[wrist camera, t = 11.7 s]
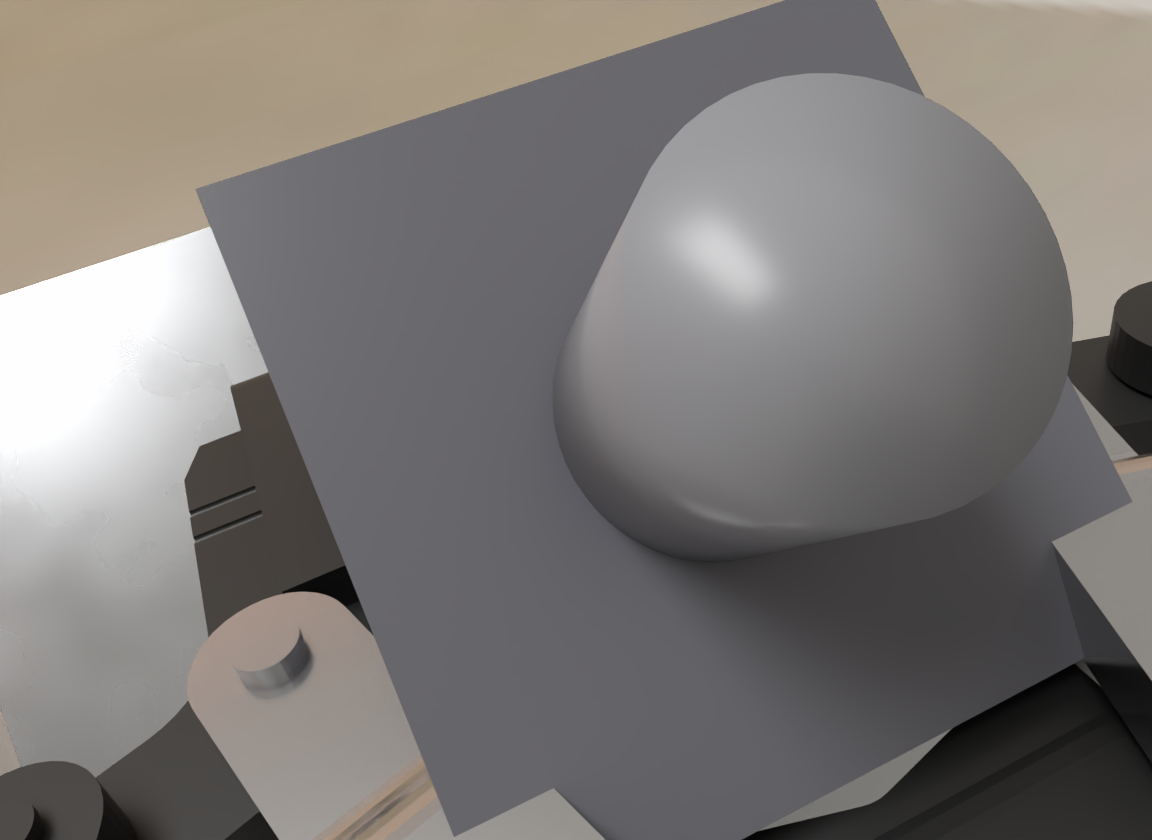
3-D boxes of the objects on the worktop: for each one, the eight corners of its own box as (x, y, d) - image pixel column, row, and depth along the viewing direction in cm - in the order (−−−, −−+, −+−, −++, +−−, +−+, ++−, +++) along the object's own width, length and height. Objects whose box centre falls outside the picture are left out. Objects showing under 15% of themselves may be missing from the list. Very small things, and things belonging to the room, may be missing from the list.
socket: (211, 1160, 16) (172, 1261, 13) (-68, 369, 18) (-149, 326, 15) (1018, 724, 19) (1108, 739, 17) (719, 102, 21) (759, 31, 19)
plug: (693, 620, 17) (1561, 593, 4) (448, 734, 16) (556, 1182, 3) (587, 381, 17) (1050, -304, 5) (344, 478, 16) (72, -51, 4)
